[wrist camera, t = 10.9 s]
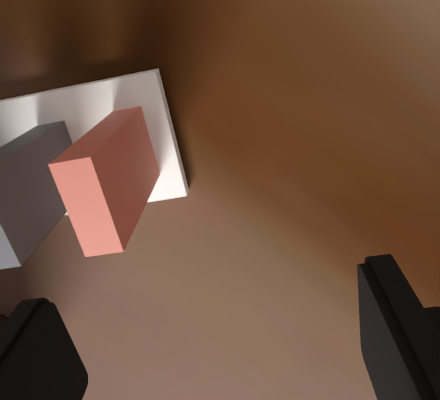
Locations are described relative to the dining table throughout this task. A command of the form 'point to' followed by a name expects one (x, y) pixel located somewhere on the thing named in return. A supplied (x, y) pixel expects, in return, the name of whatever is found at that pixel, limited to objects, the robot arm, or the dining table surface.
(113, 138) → the red domino
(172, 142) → the board
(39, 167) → the domino
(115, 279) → the dining table surface
